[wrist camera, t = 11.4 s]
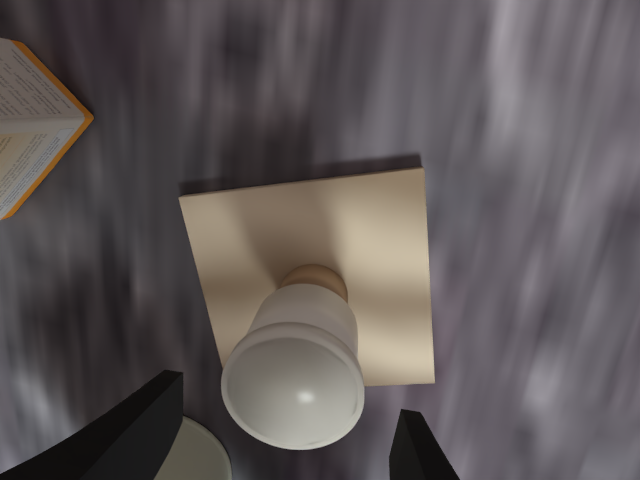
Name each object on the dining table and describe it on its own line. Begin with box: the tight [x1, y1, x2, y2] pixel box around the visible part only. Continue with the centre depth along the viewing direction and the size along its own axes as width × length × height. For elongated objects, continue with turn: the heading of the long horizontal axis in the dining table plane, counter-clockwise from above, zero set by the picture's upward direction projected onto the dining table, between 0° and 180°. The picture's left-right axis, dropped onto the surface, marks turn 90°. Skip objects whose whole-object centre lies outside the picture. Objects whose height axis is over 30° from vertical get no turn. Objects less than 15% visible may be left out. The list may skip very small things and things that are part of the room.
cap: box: [221, 284, 364, 450], centre depth 15 cm, size 5×5×4 cm
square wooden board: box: [179, 166, 435, 386], centre depth 19 cm, size 12×12×4 cm
